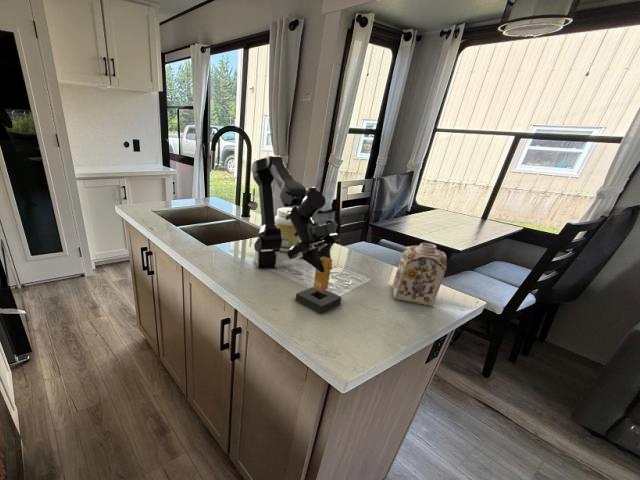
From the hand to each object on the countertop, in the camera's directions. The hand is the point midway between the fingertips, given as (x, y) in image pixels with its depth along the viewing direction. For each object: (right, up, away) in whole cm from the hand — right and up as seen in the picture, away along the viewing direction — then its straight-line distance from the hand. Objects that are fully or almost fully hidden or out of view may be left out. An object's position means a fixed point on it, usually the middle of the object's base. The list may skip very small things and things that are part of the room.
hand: (326, 270), depth 97 cm
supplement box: (-1, -5, +4) cm, 7 cm away
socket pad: (-1, -9, +6) cm, 11 cm away
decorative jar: (+32, -7, +13) cm, 35 cm away
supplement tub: (-6, +15, +50) cm, 52 cm away
